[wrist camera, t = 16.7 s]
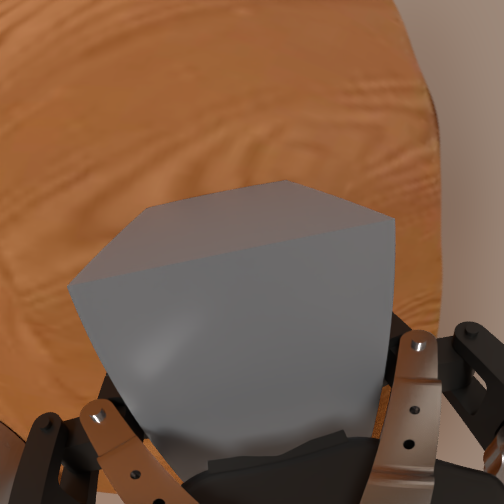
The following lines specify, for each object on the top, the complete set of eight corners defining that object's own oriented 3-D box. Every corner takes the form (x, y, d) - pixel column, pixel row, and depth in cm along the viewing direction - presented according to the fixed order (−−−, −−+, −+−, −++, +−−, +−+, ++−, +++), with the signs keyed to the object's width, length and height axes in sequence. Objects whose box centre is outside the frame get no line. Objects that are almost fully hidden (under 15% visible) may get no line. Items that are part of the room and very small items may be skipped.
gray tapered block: (305, 349, 17) (363, 464, 9) (197, 373, 17) (201, 502, 8) (286, 180, 14) (394, 218, 6) (146, 208, 13) (66, 286, 5)
